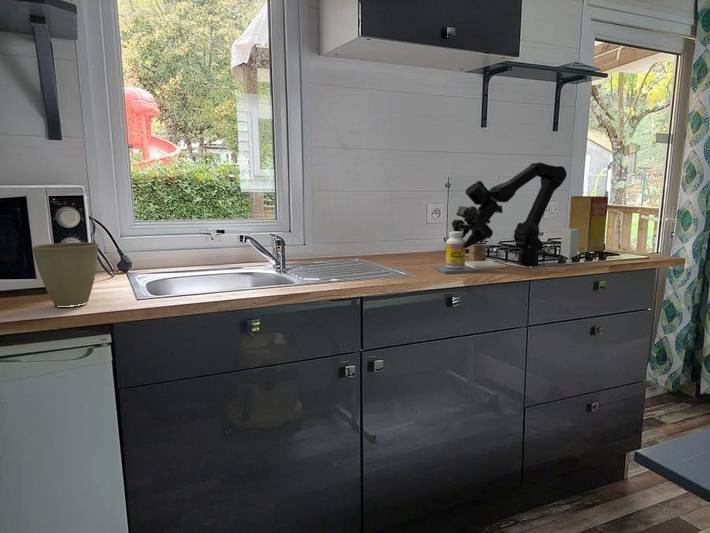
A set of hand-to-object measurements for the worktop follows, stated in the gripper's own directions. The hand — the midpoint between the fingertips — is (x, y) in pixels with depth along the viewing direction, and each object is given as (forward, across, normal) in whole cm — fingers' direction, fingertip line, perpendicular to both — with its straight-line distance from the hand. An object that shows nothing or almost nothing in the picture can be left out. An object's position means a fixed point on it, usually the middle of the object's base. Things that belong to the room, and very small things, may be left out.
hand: (456, 245), depth 175 cm
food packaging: (-48, -17, +62) cm, 80 cm away
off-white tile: (-4, -4, +16) cm, 17 cm away
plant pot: (+91, +5, -80) cm, 121 cm away
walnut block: (-6, -14, +19) cm, 25 cm away
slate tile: (+7, 0, +6) cm, 9 cm away
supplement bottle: (+6, 0, +5) cm, 8 cm away
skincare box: (-34, -6, +47) cm, 59 cm away
